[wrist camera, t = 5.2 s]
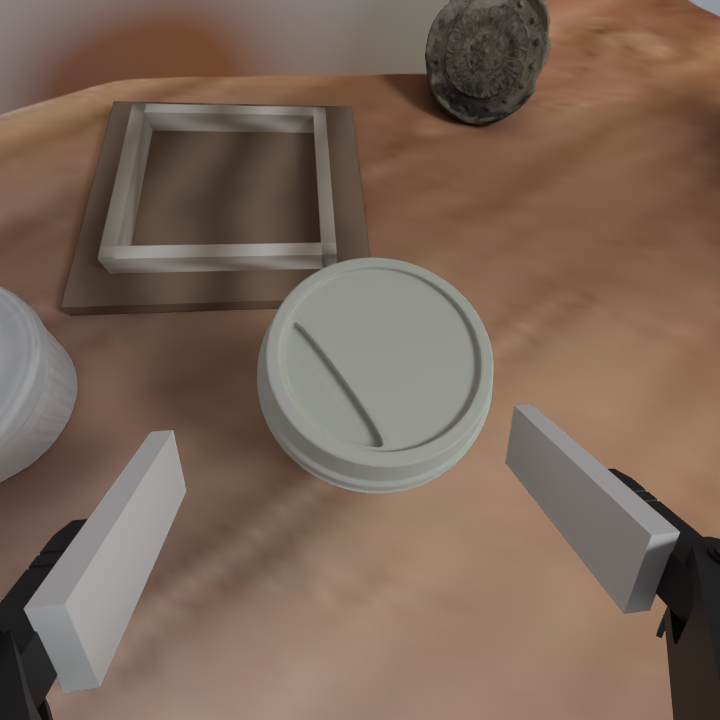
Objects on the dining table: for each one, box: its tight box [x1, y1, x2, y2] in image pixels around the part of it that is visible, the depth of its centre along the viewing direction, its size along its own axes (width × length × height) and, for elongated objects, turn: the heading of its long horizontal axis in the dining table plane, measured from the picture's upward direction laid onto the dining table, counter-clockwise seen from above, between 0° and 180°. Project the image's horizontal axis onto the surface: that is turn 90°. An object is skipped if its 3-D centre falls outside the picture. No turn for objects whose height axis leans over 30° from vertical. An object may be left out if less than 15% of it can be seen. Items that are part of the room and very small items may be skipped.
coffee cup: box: [257, 258, 494, 493], centre depth 18 cm, size 8×8×12 cm
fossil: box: [425, 0, 551, 125], centre depth 35 cm, size 11×9×10 cm
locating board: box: [61, 101, 370, 315], centre depth 29 cm, size 20×20×2 cm
